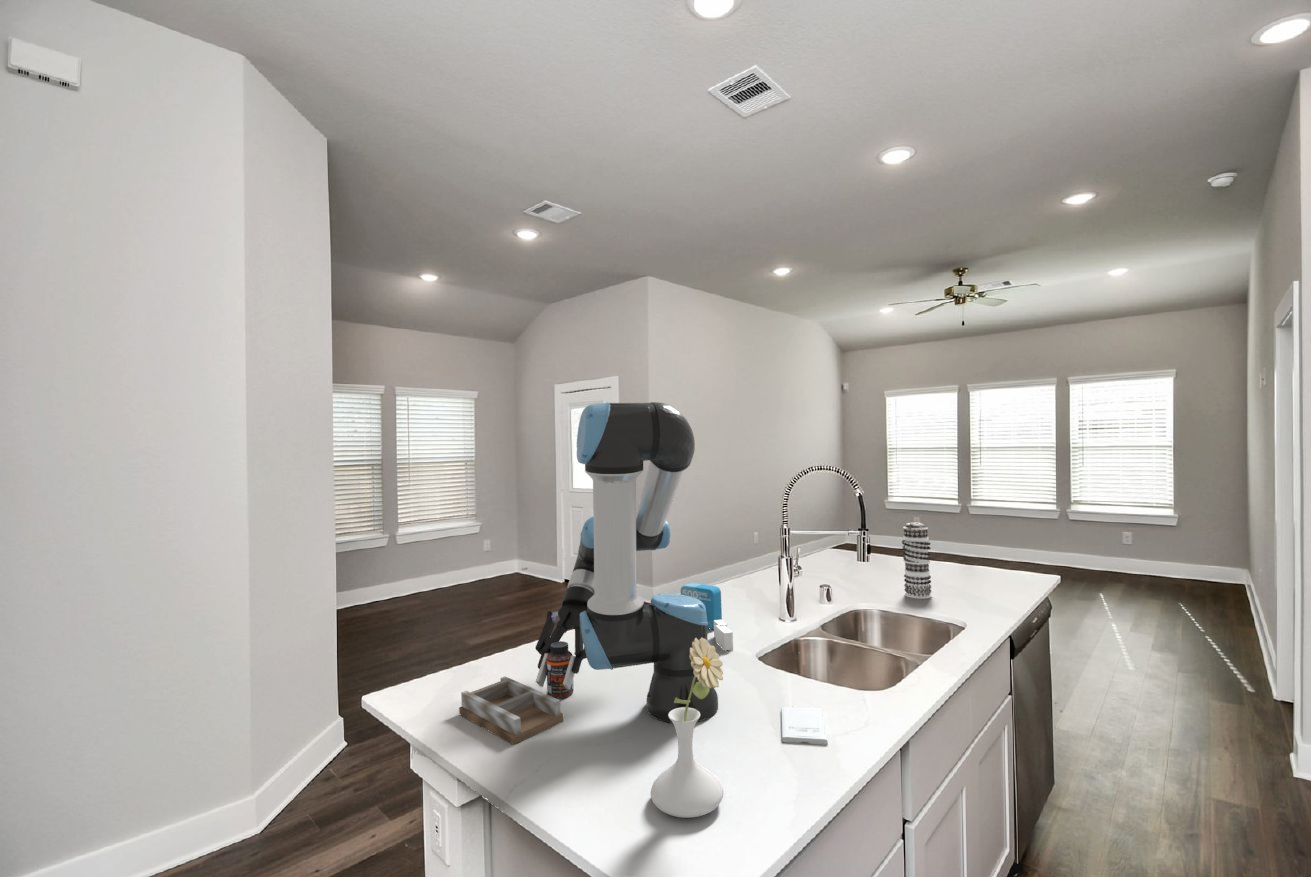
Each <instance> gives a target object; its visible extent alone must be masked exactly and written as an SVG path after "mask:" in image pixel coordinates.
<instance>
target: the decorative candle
mask: <svg viewBox="0 0 1311 877" xmlns="http://www.w3.org/2000/svg"><path fill="white" fill-rule="evenodd" d="M902 528H903V540H901V544H902V545H903V546H902V548H901V549H902V554H903V557H902V558H903V562H904V567H905V569H904V574H903V575H904V576H903V577H904V580H903V581H904V582H905V583H904V586H903V587H904V596H905V597H907V598H912V599H919V600H920V599H924V600H925V599H930V598H932V590H931V589H932V585H931V583H932V580H931V578H932V576H931V574H930V573H931V571H930V566H929V565H930V563H931V561H930V560H931V557H930V556H931V552H929V550H931V547H930V546H931V542H929V535H928V529H929V527H928V526H926V524H925V523H923V522H915V521H913V522H907V523H906V524H905V525H904V526H902Z"/></svg>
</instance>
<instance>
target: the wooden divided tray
mask: <svg viewBox="0 0 1311 877" xmlns="http://www.w3.org/2000/svg"><path fill="white" fill-rule="evenodd" d="M499 679H500V681H497V682H494V683H491V684H489V685H487V686H484V687H481V688H478V689H475V690H473V691H468V690H464V691H461V692H460V694H461V706H459V708H458V711H459V714H461V715H462V716H461V715H460V716H461V717H463V716H465V717H466V718H468V719H469V720H468V719H467V720H468V721H470V722H472V721H473V722H472V723H474V724H475V723H476V725H477V726H479V725H480V726H479V727H481V728H482V727H483V728H482V729H484V728H485V730H486V729H487V730H486V731H488V730H489V731H490V733H491V732H492V733H491V734H494V735H495V736H496V737H499V738H500V739H502V740H504V741H505V742H507V743H510V744H511V745H516V744H518V743H521V742H523V741H524V740H527V739H529V738H531V737H533V736H535V735H538V734H540V733H541V732H544V731H546V730H547V729H550V728H552V727H554V726H556V725H558V724H561V723H563V722H564V714H563V713H562V710H561V709H562V708H561V700H560V699H559V698H554V697H552V696H549V695H548V693H544V692H543V691H540V690H538V689H535V688H533V687H531V686H528V685H526V684H524V683H521V682H519V681H517V680H514V679H513V678H510V677H508V676H502V677H500V678H499ZM465 717H464V718H465ZM466 718H465V719H466ZM489 731H488V732H489Z"/></svg>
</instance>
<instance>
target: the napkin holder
mask: <svg viewBox="0 0 1311 877" xmlns="http://www.w3.org/2000/svg"><path fill="white" fill-rule="evenodd" d="M733 632H734V631H732V630H731V629H730V628H728V623H726V622H725V621H724V620H723V619H722V620H714V629H713V638H714V637H715V638H716V639H715V638H714V639H715V644H716V643H718V644H719V645H720V646H719V645H718V646H719V647H720V648H721V647H722V648H723V649H724V650H725V651H724V650H723V649H722V648H721V649H722V650H723V651H724V652H727V651H726V650H732V651H734V637H733V636H734V634H733Z"/></svg>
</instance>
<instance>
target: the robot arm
mask: <svg viewBox="0 0 1311 877" xmlns="http://www.w3.org/2000/svg"><path fill="white" fill-rule="evenodd" d="M576 437H577V438H576V458H577V462H578V463H579V464H582V465H584V472H585V473H586V474H587V475H588V476H589V477H590V478H591V480H592V494H593V495H592V497H593V498H592V501H593V502H592V506H593V510H592V511H593V512H592V513H593V516H591V517H589V518H587V519H586V521H585V522H584V523H583V525H582V530H581V532H580V539H579V540H580V541H579V546H578V551H577V556H576V560H575V563H574V566H573V570H572V571H571V575H570V578H569V581H568V583H567V589H566V590H565V593H564V597H563V599H562V604H561V607H560V608H559V609H558V611H553V612H552V610H549V611H547V613H546V620H545V623H544V625H543V628H542V631H541V632H540V636H539V638H538V640H537V643H536V645H535V650H536V651H537V653H539V655H540V656H539V660H538V663H537V668H538V672H537V676H536V679H535V683H537V685H538V686H539V687H542V688H543V687H544V685H545V681H546V680H547V655H548V654H549V653H550V652H551V650H550V649H551V644H552V643H554V642H559V641H561V639H562V638H563V636H564V634H566V633H567V632H568V630H574V652H573V654H574V655H573V656H571V658H570V661H569V665H568V668H567V671H566V675H565V678H564V682H563V685H564V686H565V688H566V689H569V690H570V688H571V684H572V681H573V682H574V677H575V675H576V674H577V675H578V674H579V671H580V668H581V666H582V662H583V660H585V659H586V660H587V663H588V665H589V666H590V668H591V669H593V670H597V671H599V670H601V671H602V670H614V669H618V668H626V667H633V666H640V665H642V666H643V665H647V664H653V672H652V676H651V681H650V684H649V688H648V692H647V695H646V710H647V713H648V714H649V715H650V716H652V717H653V718H654V719H657V720H659V721H662V722H666V723H672V724H673V722H672V721H671V720H670V718H669V716H668V714H669V712H670V711H671V710H673V709H676V708H681V707H686V704H682V703H674V700H675V698H678V699H681V700H688V697H689V693H690V690H691V685H692V681H693V678H694V673H693V671H694V669H693V667H692V666H691V660H690V657H689V655H690V648H693V647H692V642H694V639H695V638H697V639H698V640H700V639H701V638H703V639H706V640H707V641H708V629H707V625H708V622H707V616H706V608H705V605H704V604H703V603H702V602H701V601H700V600H698V599H696V598H693V597H690V596H685V595H681V594H679V593H658V594H655V595H653V596H652V597H651V600H650V604H645V601H644V598H643V597H642V596H641V595H639V593H637V552H643V551H656V550H662V549H666V548H667V547H668V546H669V545H670V542H671V541H670V538H671V529H670V525H669V522H668V520H667V519H668V517H669V512H670V510H671V507H672V505H673V502H674V498H675V496H676V492H677V489H678V487H679V484H680V480H681V477H682V475H683V473H684V471H686V470H687V469H688V468H689V467H690V466H691V463H692V460H693V457H694V454H695V449H696V448H695V447H696V446H695V445H696V443H695V436H694V432H693V429H692V427H691V425H690V423H689V422H688V419H686V417H685V416H684V415H683V414H682V413H681V412H680V411H678V410H677V409H676V408H675V407H673V406H671V405H669V404H667V403H664V402H657V401H655V402H654V401H651V402H602V403H593V404H588V405H587V406H586V407H584V408H583V410H582V412H581V415H580V418H579V422H578V428H577V436H576ZM644 461H649V463H648V467H647V470H646V475H645V478H644V482H643V486H642V490H641V493H640V497H639V500H638V505H637V497H636V496H637V493H636V492H637V484H636V483H637V478H639V476H640V475H641V474H642V473H643V472H644ZM558 618H559V620H558ZM555 624H556V627H555ZM554 627H555V628H554ZM553 630H554V631H553ZM708 642H709V641H708ZM697 682H699V680H698V678H697V677H696V679H695V682H694V686H695V684H696V683H697ZM694 686H693V687H694ZM692 691H693V690H692ZM718 696H719V695H718V693H717V690H716V688H713V687H711V688H709V693H708V695H707V696H706V697H705V698H703V699H699V698H698V697H696V696H695V695H694V693H693V692H692V694H691V698H690V701H691V702H690V703H689V705H688V708H693V709H696V710H697V711H699V712H700V717H699V719H698V720H697V722H701V721H703V720H707V719H709V718H711V717H713V715H715V714H716V713H717V712H718V710H719V697H718ZM697 722H696V723H697Z"/></svg>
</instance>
